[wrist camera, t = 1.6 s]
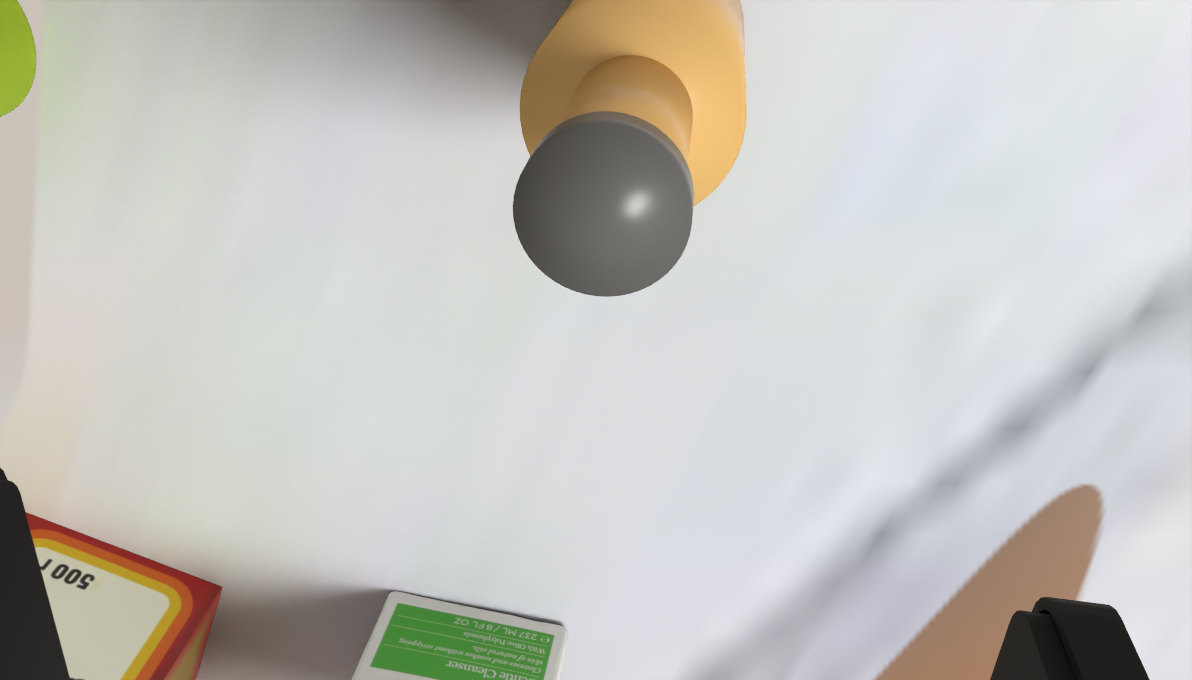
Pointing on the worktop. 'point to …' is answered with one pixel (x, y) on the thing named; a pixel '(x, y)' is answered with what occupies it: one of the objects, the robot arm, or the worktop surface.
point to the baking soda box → (122, 608)
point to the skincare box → (458, 644)
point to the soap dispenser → (15, 56)
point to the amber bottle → (627, 136)
